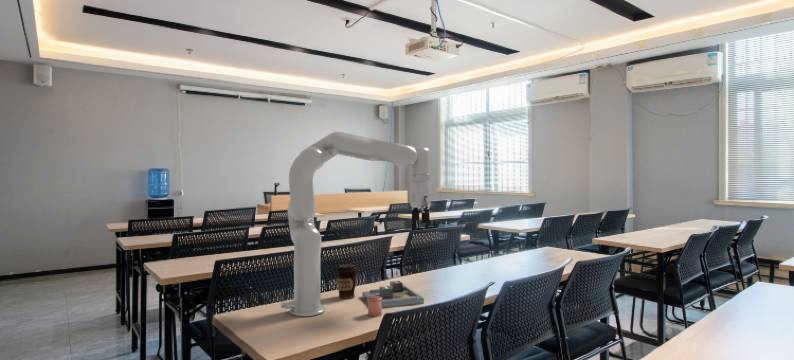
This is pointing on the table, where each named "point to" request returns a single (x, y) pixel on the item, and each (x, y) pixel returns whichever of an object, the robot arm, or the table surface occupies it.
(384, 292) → the toggle
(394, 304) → the breaker panel
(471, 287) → the table surface
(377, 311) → the cap
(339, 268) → the coffee cup
